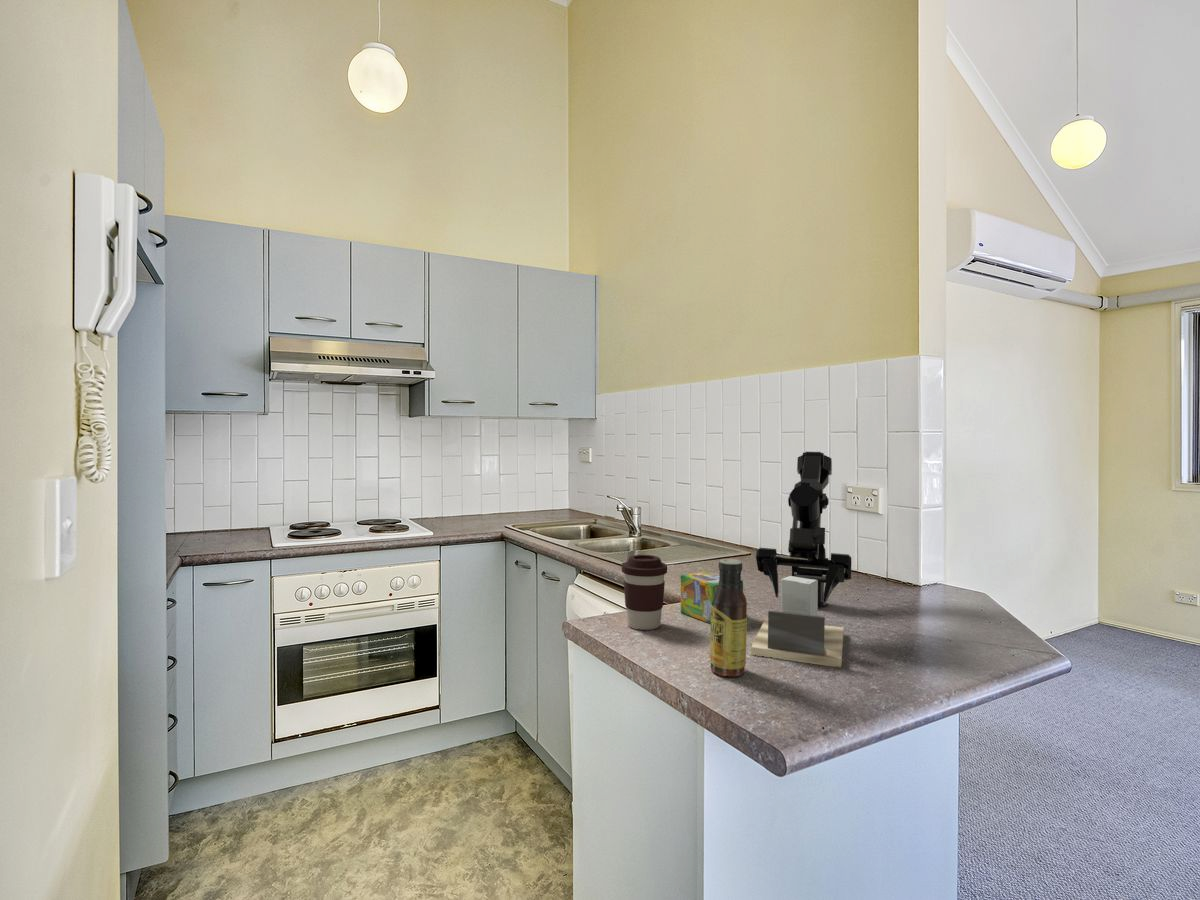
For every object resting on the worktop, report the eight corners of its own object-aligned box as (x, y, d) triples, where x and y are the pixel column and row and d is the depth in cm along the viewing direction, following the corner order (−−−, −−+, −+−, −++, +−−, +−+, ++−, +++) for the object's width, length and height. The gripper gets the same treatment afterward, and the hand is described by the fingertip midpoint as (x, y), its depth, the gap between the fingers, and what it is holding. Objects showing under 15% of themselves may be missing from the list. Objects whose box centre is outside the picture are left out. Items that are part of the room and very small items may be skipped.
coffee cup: (653, 635, 128) (654, 564, 127) (612, 627, 133) (613, 558, 133) (674, 623, 136) (674, 556, 136) (634, 616, 141) (635, 551, 141)
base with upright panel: (765, 624, 136) (765, 586, 135) (843, 634, 129) (844, 594, 129) (751, 654, 117) (751, 610, 117) (841, 667, 111) (842, 621, 111)
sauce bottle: (705, 665, 111) (707, 556, 111) (739, 664, 112) (740, 556, 111) (715, 680, 105) (716, 564, 104) (751, 679, 105) (752, 564, 105)
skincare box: (818, 640, 121) (819, 579, 121) (809, 645, 118) (810, 583, 118) (788, 633, 125) (789, 575, 125) (779, 638, 122) (780, 578, 122)
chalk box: (679, 574, 144) (724, 587, 131) (708, 570, 149) (754, 582, 136) (679, 614, 144) (724, 630, 132) (708, 608, 149) (754, 623, 136)
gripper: (757, 510, 131) (748, 572, 121) (852, 515, 124) (850, 581, 114) (762, 540, 139) (754, 601, 129) (851, 546, 132) (850, 612, 122)
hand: (800, 598), depth 123 cm, fingers open, 9 cm apart
